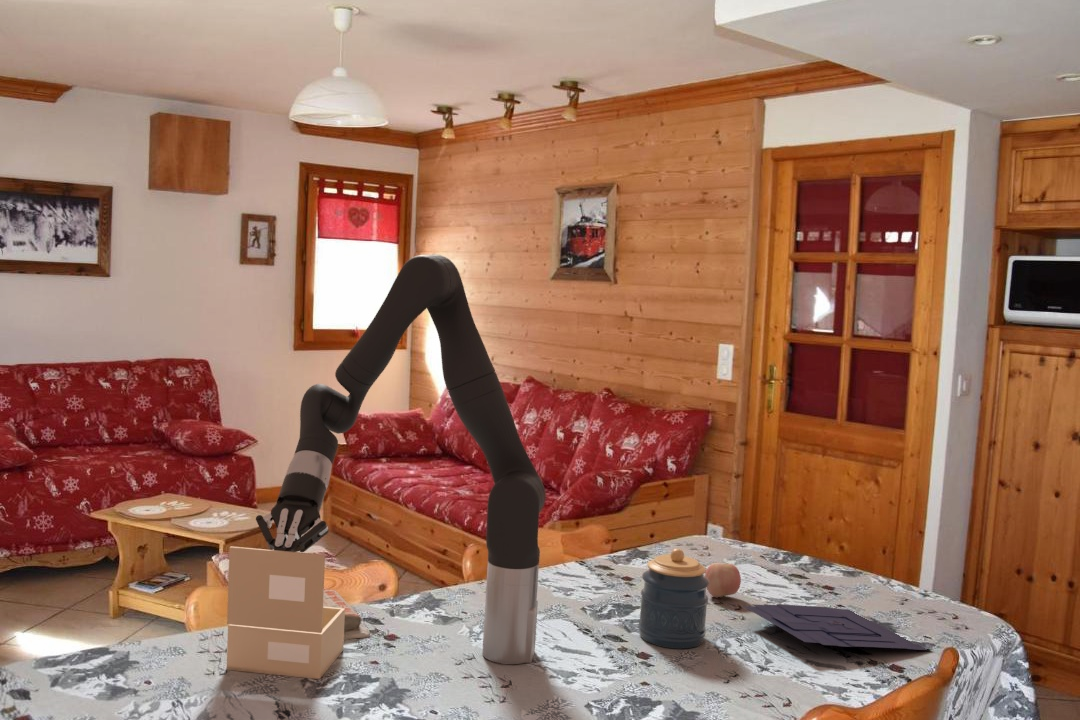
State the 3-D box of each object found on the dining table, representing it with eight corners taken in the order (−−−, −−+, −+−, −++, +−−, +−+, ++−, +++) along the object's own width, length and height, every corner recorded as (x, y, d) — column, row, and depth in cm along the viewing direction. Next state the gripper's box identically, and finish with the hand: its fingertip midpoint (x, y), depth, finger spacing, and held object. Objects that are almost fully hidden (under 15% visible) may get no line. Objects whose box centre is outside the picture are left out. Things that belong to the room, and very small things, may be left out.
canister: (712, 634, 194) (719, 547, 193) (694, 655, 182) (701, 562, 181) (650, 621, 199) (656, 536, 198) (628, 640, 188) (634, 550, 186)
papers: (733, 615, 202) (737, 598, 202) (847, 621, 214) (850, 605, 214) (808, 660, 180) (811, 641, 180) (930, 664, 192) (934, 646, 192)
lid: (325, 554, 160) (324, 555, 159) (321, 631, 161) (320, 633, 160) (230, 546, 161) (229, 547, 161) (228, 622, 162) (226, 624, 162)
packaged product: (292, 589, 192) (342, 584, 197) (291, 613, 193) (341, 608, 197) (319, 619, 176) (372, 613, 181) (318, 645, 177) (370, 639, 182)
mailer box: (343, 650, 174) (345, 608, 174) (319, 679, 161) (321, 634, 161) (256, 641, 176) (258, 600, 175) (226, 669, 163) (227, 625, 162)
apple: (744, 597, 219) (746, 562, 218) (731, 606, 212) (734, 570, 212) (710, 589, 223) (713, 555, 222) (697, 597, 216) (700, 562, 216)
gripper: (264, 467, 170) (232, 556, 159) (338, 473, 169) (311, 563, 158) (274, 491, 176) (244, 578, 165) (346, 497, 175) (320, 585, 163)
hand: (277, 570), depth 161 cm, fingers closed
